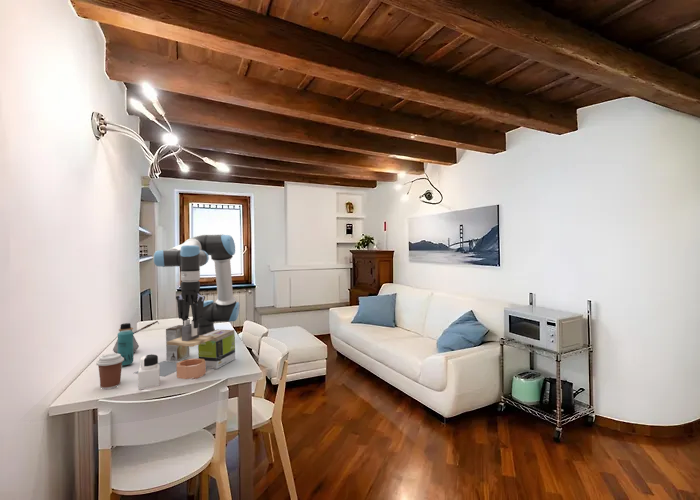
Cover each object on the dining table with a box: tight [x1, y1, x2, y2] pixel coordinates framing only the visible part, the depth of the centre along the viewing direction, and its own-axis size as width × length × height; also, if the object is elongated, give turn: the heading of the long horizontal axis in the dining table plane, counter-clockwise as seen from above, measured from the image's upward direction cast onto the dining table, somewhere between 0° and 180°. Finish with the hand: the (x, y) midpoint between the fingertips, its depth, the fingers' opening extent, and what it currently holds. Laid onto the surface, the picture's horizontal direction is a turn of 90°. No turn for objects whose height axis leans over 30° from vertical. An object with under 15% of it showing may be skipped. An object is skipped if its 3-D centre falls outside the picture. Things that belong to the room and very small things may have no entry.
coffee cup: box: [95, 352, 124, 390], centre depth 138 cm, size 9×9×12 cm
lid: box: [167, 323, 213, 348], centre depth 149 cm, size 13×13×7 cm
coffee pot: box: [112, 320, 160, 354], centre depth 185 cm, size 21×12×15 cm, turn 130°
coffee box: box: [165, 324, 190, 362], centre depth 171 cm, size 9×6×16 cm
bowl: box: [176, 357, 207, 380], centre depth 149 cm, size 11×11×6 cm
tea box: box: [197, 329, 236, 370], centre depth 164 cm, size 15×10×15 cm, turn 165°
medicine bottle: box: [137, 353, 161, 391], centre depth 137 cm, size 7×7×12 cm
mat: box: [133, 360, 179, 378], centre depth 156 cm, size 17×17×1 cm
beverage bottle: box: [117, 322, 134, 366], centre depth 161 cm, size 6×7×20 cm
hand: (190, 335), depth 149 cm, fingers closed on lid, 3 cm apart
